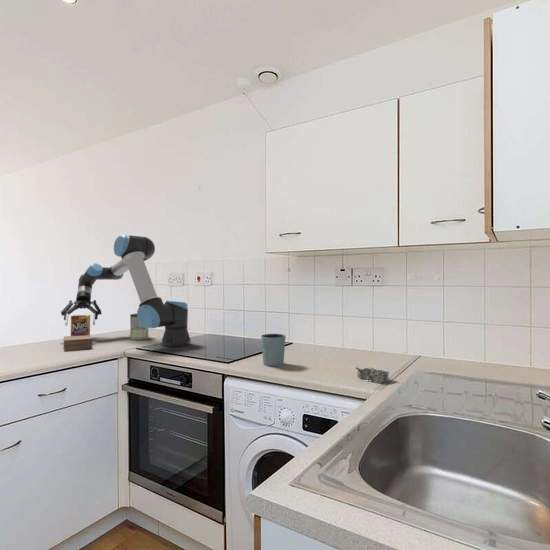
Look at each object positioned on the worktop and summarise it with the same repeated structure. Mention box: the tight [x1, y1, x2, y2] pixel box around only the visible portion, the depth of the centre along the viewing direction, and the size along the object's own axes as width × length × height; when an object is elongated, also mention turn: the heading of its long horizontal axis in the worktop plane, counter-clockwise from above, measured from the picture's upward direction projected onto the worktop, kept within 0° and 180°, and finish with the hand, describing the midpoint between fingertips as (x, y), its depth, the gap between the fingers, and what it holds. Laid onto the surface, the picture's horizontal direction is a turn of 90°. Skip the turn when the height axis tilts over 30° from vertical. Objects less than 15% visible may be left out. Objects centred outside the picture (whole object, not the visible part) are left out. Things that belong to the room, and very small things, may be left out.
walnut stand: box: [63, 334, 93, 351], centre depth 187 cm, size 14×12×5 cm
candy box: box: [70, 314, 91, 336], centre depth 199 cm, size 9×4×15 cm, turn 103°
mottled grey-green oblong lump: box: [355, 366, 391, 384], centre depth 131 cm, size 11×8×4 cm
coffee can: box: [129, 313, 149, 340], centre depth 217 cm, size 10×10×14 cm
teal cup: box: [260, 333, 286, 368], centre depth 153 cm, size 10×10×12 cm
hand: (80, 324), depth 203 cm, fingers open, 13 cm apart
